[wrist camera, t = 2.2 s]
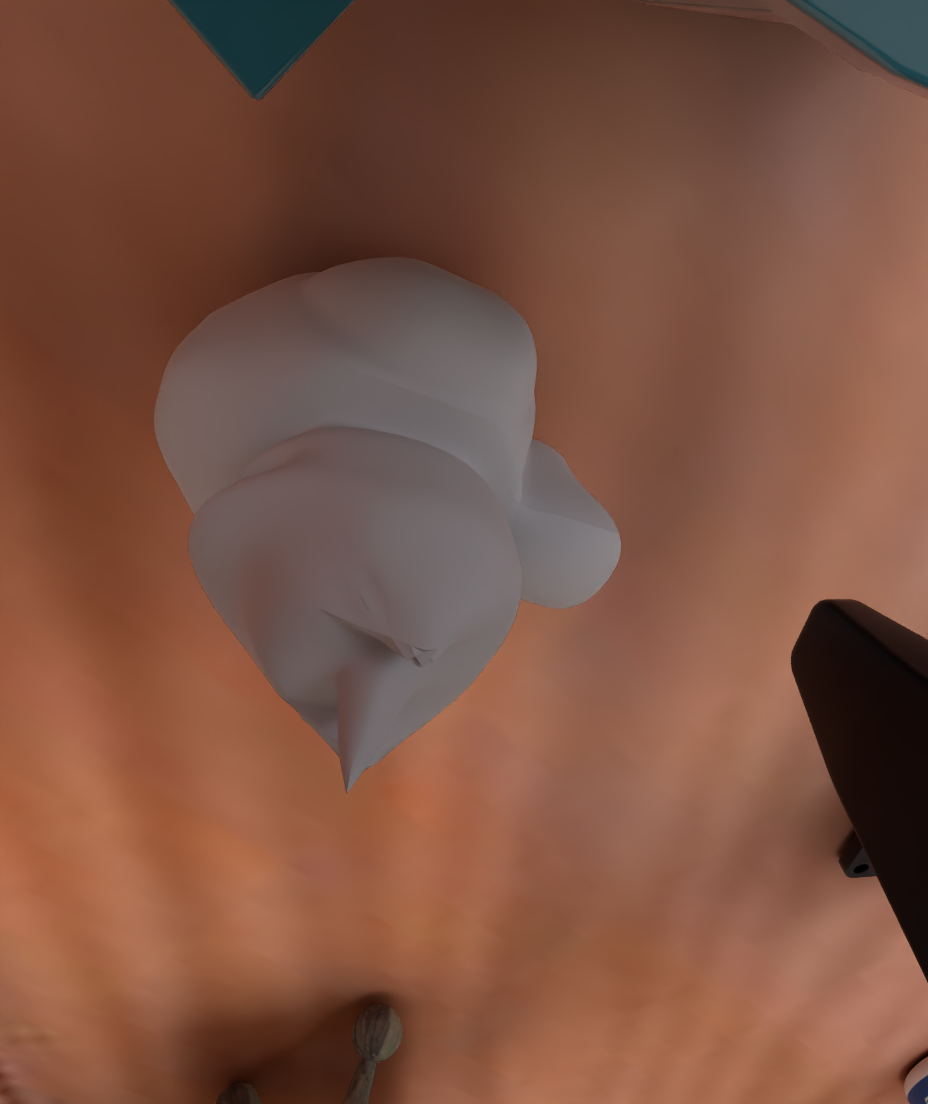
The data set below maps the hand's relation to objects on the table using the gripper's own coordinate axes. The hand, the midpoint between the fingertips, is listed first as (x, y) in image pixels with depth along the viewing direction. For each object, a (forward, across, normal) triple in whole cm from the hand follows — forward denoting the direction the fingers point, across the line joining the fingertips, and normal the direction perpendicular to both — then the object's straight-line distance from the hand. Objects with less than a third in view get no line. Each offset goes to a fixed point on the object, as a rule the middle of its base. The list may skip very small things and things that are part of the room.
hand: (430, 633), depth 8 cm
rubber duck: (+6, 0, 0) cm, 6 cm away
